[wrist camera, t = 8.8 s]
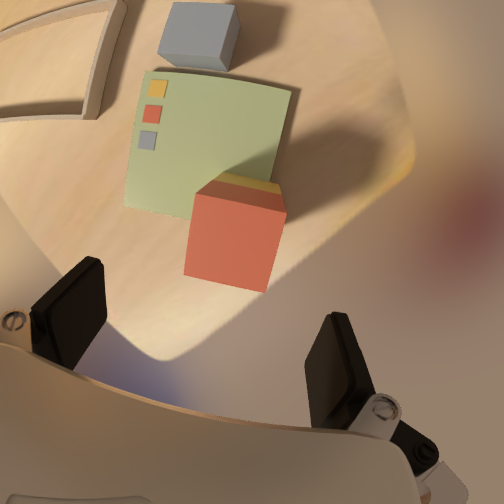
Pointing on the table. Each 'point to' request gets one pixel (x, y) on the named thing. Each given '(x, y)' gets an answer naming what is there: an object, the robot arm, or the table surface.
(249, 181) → the ochre block
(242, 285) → the red block
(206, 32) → the slate block
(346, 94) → the table surface
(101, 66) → the beige open rectangular frame
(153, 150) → the building board
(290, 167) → the table surface
